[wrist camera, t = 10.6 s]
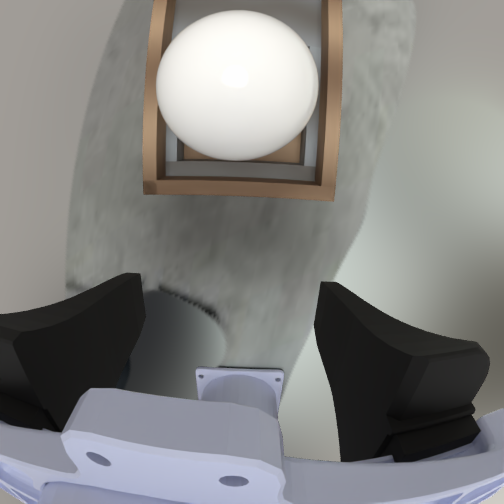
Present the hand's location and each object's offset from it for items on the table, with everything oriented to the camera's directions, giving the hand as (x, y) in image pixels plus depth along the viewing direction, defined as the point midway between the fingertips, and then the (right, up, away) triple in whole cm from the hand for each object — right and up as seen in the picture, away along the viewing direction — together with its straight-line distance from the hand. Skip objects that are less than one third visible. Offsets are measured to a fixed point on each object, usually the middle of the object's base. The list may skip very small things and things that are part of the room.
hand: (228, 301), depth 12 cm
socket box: (0, +13, +6) cm, 14 cm away
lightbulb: (0, +11, +6) cm, 13 cm away
